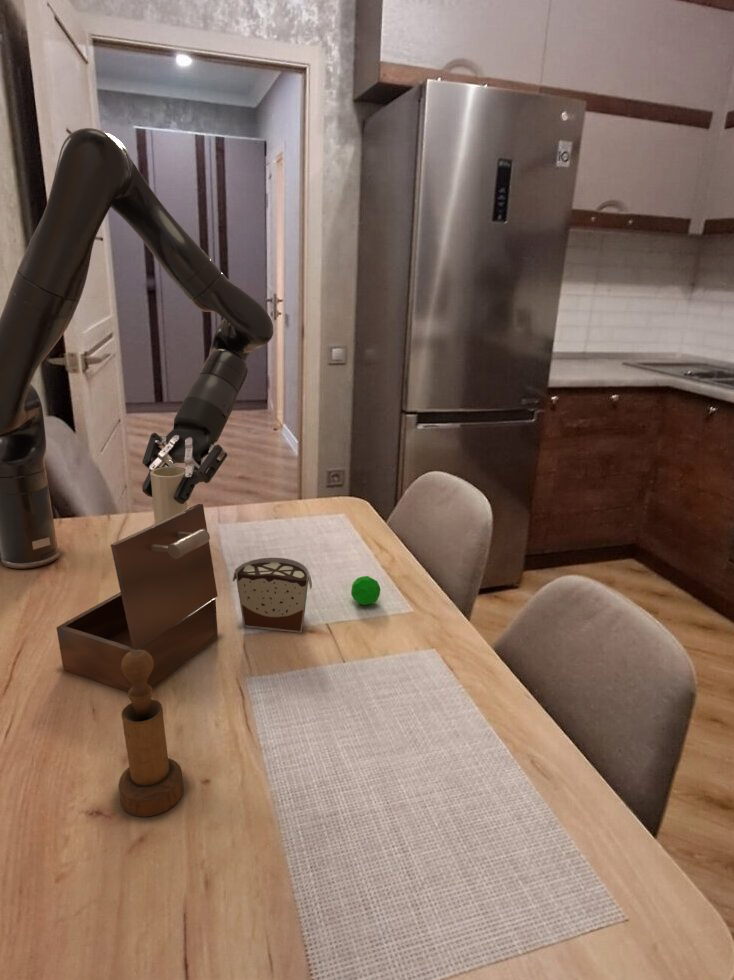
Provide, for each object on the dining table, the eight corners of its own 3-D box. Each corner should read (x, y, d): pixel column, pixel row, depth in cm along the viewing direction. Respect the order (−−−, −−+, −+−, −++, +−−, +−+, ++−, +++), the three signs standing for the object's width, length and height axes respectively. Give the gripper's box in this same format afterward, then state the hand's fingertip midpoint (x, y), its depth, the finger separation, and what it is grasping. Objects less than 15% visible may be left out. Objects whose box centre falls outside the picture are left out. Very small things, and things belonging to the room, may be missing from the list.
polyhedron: (356, 611, 112) (357, 586, 110) (346, 598, 116) (347, 573, 114) (384, 607, 114) (385, 582, 112) (373, 594, 118) (374, 570, 116)
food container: (319, 614, 110) (319, 559, 107) (311, 633, 105) (311, 576, 101) (246, 607, 111) (244, 552, 107) (234, 626, 106) (232, 569, 102)
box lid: (110, 544, 80) (146, 548, 78) (198, 503, 95) (231, 506, 93) (132, 649, 85) (167, 656, 83) (213, 595, 100) (244, 600, 98)
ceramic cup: (148, 532, 107) (142, 473, 103) (171, 521, 111) (166, 464, 108) (175, 539, 105) (170, 479, 101) (197, 528, 110) (193, 470, 106)
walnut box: (63, 669, 93) (56, 627, 90) (147, 616, 107) (143, 578, 104) (140, 696, 88) (135, 652, 85) (218, 637, 102) (215, 598, 100)
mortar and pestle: (112, 787, 73) (92, 646, 66) (171, 764, 77) (157, 628, 70) (131, 826, 68) (111, 679, 61) (193, 800, 72) (180, 658, 65)
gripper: (159, 389, 109) (112, 478, 103) (233, 401, 104) (188, 495, 99) (182, 415, 116) (139, 500, 110) (253, 427, 111) (212, 517, 105)
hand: (162, 497), depth 104 cm, fingers closed on ceramic cup, 5 cm apart
